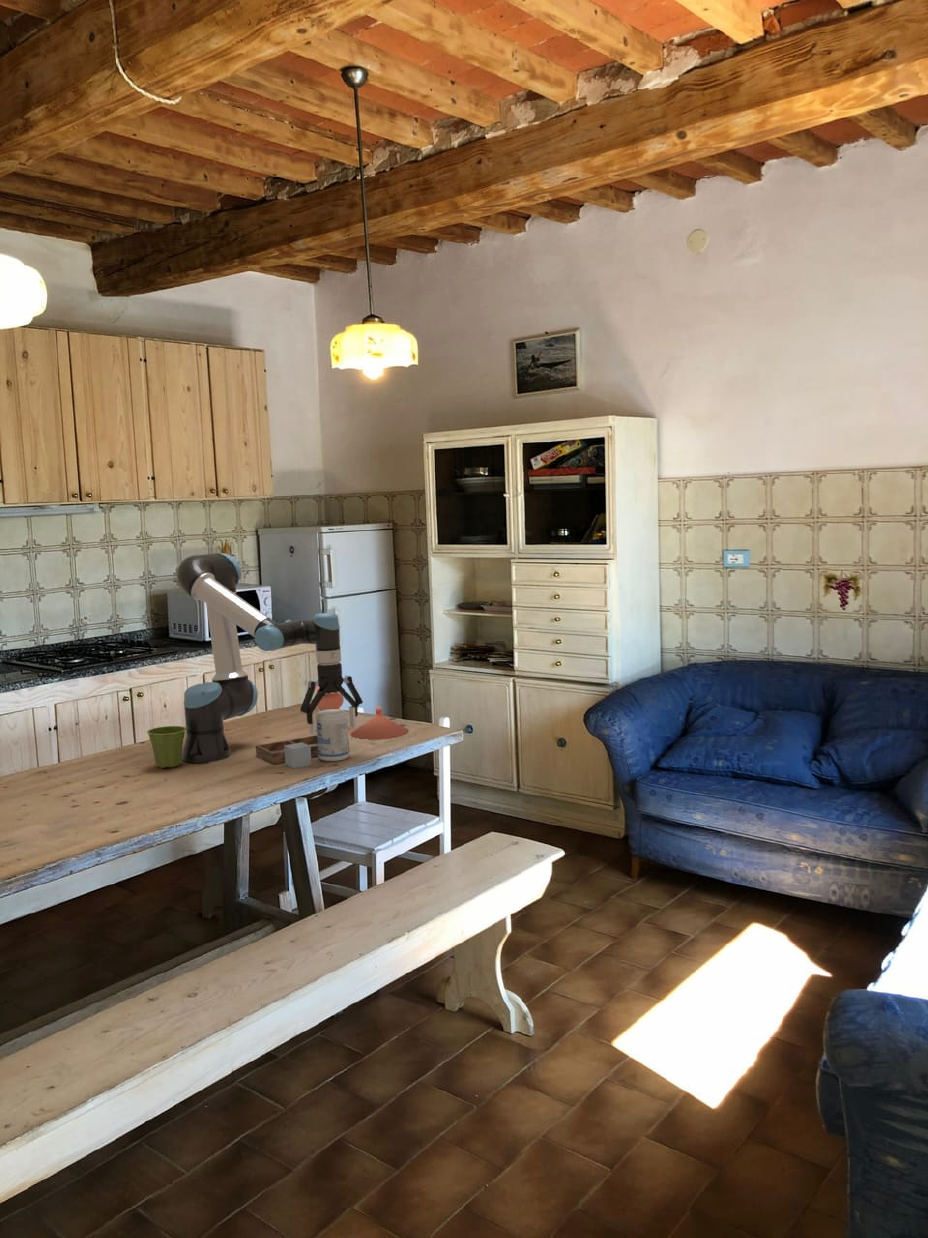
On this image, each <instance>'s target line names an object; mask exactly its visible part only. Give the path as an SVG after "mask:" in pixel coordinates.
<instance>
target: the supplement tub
mask: <svg viewBox="0 0 928 1238" xmlns="http://www.w3.org/2000/svg"><path fill="white" fill-rule="evenodd" d="M316 716H317V723H316V735H317V738H318V756H317V757H318V759H319V760H320V761H325V762H338V761H343V760H346V759H347V758H348V757H349V756H350V754H349V753H350V752H349V751H350V744H349V745H348V740H349V719H348V718H349V717H348V711H347V710H345V709H341V708H339V709H329V710H323V711H320V710H319V711H318V712H317V713H316Z"/></svg>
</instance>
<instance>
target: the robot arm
mask: <svg viewBox="0 0 928 1238" xmlns="http://www.w3.org/2000/svg"><path fill="white" fill-rule="evenodd" d="M241 578H242V570H241V567H240V564H239V563H238V561H237V560H236V559H235V558H234V557H233V556H232V555H230V554H228V553H223V552H222V553H219V552H218V553H217V552H215V553H209V554H198V555H197V554H196V555H190V556H188V557H186V558H184V559H183V560H182V561H181V562H180V563H179V565H178V567H177V570H176V580H177V581H176V582H177V583H178V585H179V587H180V589H182V591H183V592H185V593H186V594H187V595H188V596H190V597H191V598H192V599H194V600H195V601H202V602H204V603H205V604H206V605H205V606H206V612H207V613H206V614H207V619H208V627H209V633H210V640H211V648H212V656H213V661H214V662H213V664H214V669H215V674H214V676H213V677H212V678H211V681H209V682H208V681H207V682H202V683H198V684H194V685H192V686H189V687H188V688H186V689H185V691H184V693H183V694H184V695H183V707H184V719H185V720H184V721H185V728H186V731H185V733H186V735H185V736H186V737H185V740H184V743H183V744H184V745H183V746H182V754H181V761H183V762H185V763H190V764H208V763H213V762H218V761H222V760H225V759H228V758H230V757H231V755H232V751H231V747H230V744H229V742H228V739H227V736H226V734H225V730H224V727H225V726H224V721H227V720H228V719H229V720H230V719H233V718H235V717H236V718H237V717H242V716H244V715H246V714H248V713H250V712H252V710H253V709H254V708H255V706H256V705H257V701H258V698H259V696H258V695H259V693H258V689H257V686H256V684H254V682H253V680H251V679H249V675H248V672H245V670H243V665H242V664H243V663H242V658H241V652H240V651H241V650H240V642H239V636H238V630H237V629H238V628H237V627H239V628H241V629H242V630H243V631H245V632H246V633H247V634H249V635H250V636H251V637H253V638H254V642H255V644H256V646H257V648H258V649H260V650H261V651H264V652H272V651H277V650H280V649H284V648H285V649H286V648H290V647H292V646H293V647H294V646H298V645H315V652H316V663H317V667H316V669H317V680H316V681H313V680H309V681H308V682H307V683H308V684H307V685H308V686H307V690H306V694H305V695H304V699H303V700H302V703H301V706H300V709H299V710H300V712H301V713H304V714H305V715H306V723H307V724H308V725H309V730H310V731H309V732H310V733H309V734H311V735H312V736H315V735H317V723H316V713H314V711H315V710H316V709H317V708H318V707H317V705H318V703H319V702H320V700H321V699H322V697H323V696H324V695H325V694H326V693H327V694H330V693H337V692H339V694H341V695H342V696H343V699H345V700H346V701H347V702H348V703H349V704H350V705H349V706H348V711H349V713H348V715H349V727H350V728H352V729H357V720H356V717H358V715H359V713H358V707H359V706H360V705H362V704H363V703H364V701H363V699H362V697H361V695H360V694H359V692H358V691H357V688H356V687H355V684H354V683H353V677H352V676H350V675H345V676H343V667H342V665H343V664H342V663H341V661H342V654H341V653H342V649H341V640H340V639H341V637H340V636H341V635H340V634H341V633H340V631H341V630H340V628H341V626H340V622H339V615H338V614H337V613H335V612H325V613H324V612H322V613H316V614H315V615H314V616H313V619H297V618H295V619H287V620H285V621H284V622H281V623H278V622H276V621H275V620H274V619H271V618H270V617H269V616H268V615H266V614H264V613H263V612H262V611H260V610H259V609H257V608H256V607H254V606H253V605H251V604H250V603H249V602H247V601H246V600H244V599H243V598H242V597H240V596H239V595H238V594H237V587H236V586H237V585H238V584H239V583H240V580H241ZM343 684H346V686H347V688H348V690H349V692H350V694H351V695H350V694H349V693H348V692H347V691H346V689H345V688H344V687H343V686H342V685H343ZM317 686H319V687H320V688H319V690H318V691H317V692H316V691H315V689H316V687H317ZM315 692H316V694H315V696H314V693H315Z"/></svg>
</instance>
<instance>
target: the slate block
mask: <svg viewBox="0 0 928 1238" xmlns="http://www.w3.org/2000/svg"><path fill="white" fill-rule="evenodd" d="M284 750H285V762H284V763H285V766H288V767H290V768H292V769H297V768H303V767H308V766H312V757H311V747H310V746H309V745H307V744H305V743H303V742H302V743H296V744H290V745H284Z"/></svg>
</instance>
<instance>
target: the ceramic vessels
mask: <svg viewBox="0 0 928 1238" xmlns="http://www.w3.org/2000/svg"><path fill="white" fill-rule="evenodd" d="M319 688H320V687H319V686H318V685H317V687H316V688H315V691H314V692H316V693H317V691H318V690H319ZM344 699H345V698H344V697H343V696H342V695H341V694H340V693H339V692H337V693H330V694H327V693H326V694H325V695H324V696H323V697H322V699H321V700H320V702H319V703H318V705H317V707H316V708H318V709H319V711H323V710H329V709H341V707H342V706H343V704H344V702H345V700H344ZM315 721H316V724H317V715H315ZM409 731H410V730H409V729H408V728H406V727H404V726H402V725H401V724H399V723H397V722H395V721H393V720H391V719H390V718H387V717H385V716H384V715H383V708H382V706H376V707H375V715H374V716H373V717H372V718H371V719H369V720H367V721H366V722H365V723H363V724H362V725H360V726H359V727H358V728H357V727H356V728H355V730H353V731H351V732H350V737H352V738H354V737H355V738H354V739H357V738H359V740H363V739H368V740H367V741H377V740H378V741H382V740H389V739H396V738H400V737H403V736H405V735H407V734H409Z"/></svg>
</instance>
